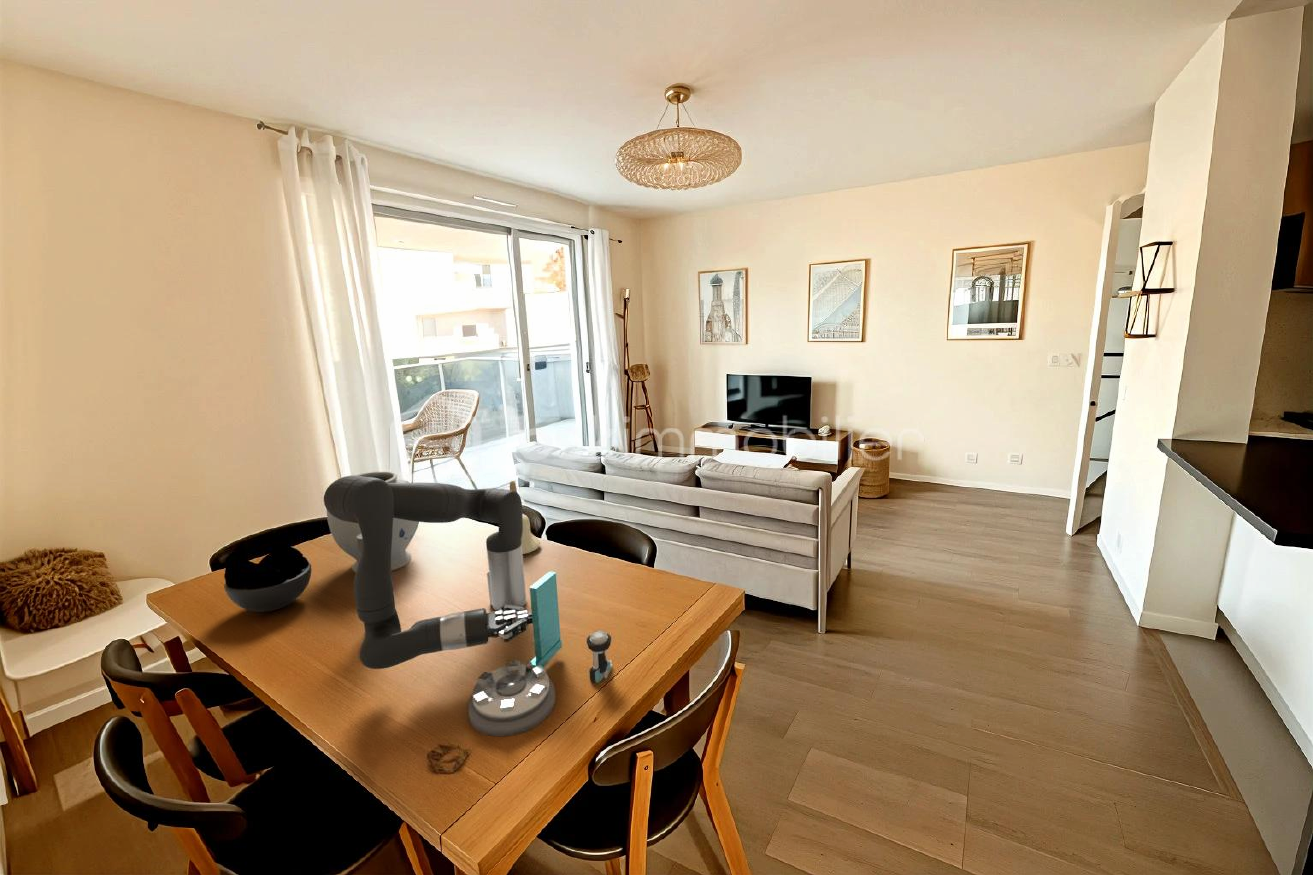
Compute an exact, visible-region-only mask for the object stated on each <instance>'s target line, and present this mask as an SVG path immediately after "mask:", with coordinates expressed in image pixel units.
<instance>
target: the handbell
mask: <svg viewBox="0 0 1313 875" xmlns="http://www.w3.org/2000/svg"><path fill="white" fill-rule="evenodd" d="M517 489H518V488H517V484H516V481H515V480H511V481H510V482H509V490H513V491H516V492H517V493H518V490H517ZM522 516H523V533H522V538H521V543H522V555H524V554H530V553H531V552H533V551H535V550H537V549H538V548H539V547H540V545H541V541H540V539H539V538H538V537H536V536H535V535H534V534H533V533H532V531H531V524H530V523H531V522H530V519H529V517H528V516H527V515H526V514H524V513H522Z"/></svg>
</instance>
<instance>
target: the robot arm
mask: <svg viewBox="0 0 1313 875" xmlns="http://www.w3.org/2000/svg"><path fill="white" fill-rule="evenodd" d="M356 475H357V474H356ZM356 475H354V474H353V475H347V476H343V477H340V478H338V479H336V480H334V481H333V482H332V483H330V484H329V485H328V487H327V488H326V490H325V492H324V493H323V494H324V495H323V504H324V505H323V506H325V508H326V511H327V510H328V512H329V513H330V514H331V515H333V516H334V517H336V518H338V519H340V520H343V521H347V522H353V523H358V524H359V527H360V531H361V534H362V540H363V551H362V556H361V559H360V562H359V565H358V568H357V571H356V573H355V574H354V578H353V592H354V600H355V608H356V613H357V616H358V619H359V620H360V621H361V622H362V623H363V625H364V639H363V641H362V643H361V646H360V648H359V653H358V656H359V660H360V661H359V662H360V663H361V664H362V665H363V666H364V667H366V668H368V669H372V670H382V669H383V670H384V669H388V668H391V667H395V666H398V665H400V664H402V663H405V662H407V661H411V660H412V659H415V658H416V657H419V656H422V655H426V654H427V655H428V654H433V653H437V652H438V653H439V652H442V651H455V650H460V649H466V648H470V647H476V646H477V647H478V646H481V645H487V644H488V642H489V638H495V639H497V638H499V637H501V638H502V639H503V642H505V643H508V642H510V641H511V640H513V639H514V638H516V637H518V636H520V635H521V634H523V633H524V632H526V631H527V627H529V625H530V624H531V625H533V622H532V610H531V611H528V610H526V609H525V608H524V606H525V605H526V603H527V593H526V592H527V591H526V590H527V589H526V579H525V569H524V554H522V543H521V538H522V533H523V516H522V514H523V502H522V498H521V496H520V494H519V492H518V491H517V492H516V491H513V490H510V489H504V488H496V487H495V488H494V487H490V488H479V489H478V488H477V489H476V488H475V489H466V488H463V487H461V486H458V485H455V484H449V483H439V482H410V483H387V482H385V481H384V480H382V479H378V478H373V477H364V476H356ZM393 518H398V519H404V520H409V521H416V522H419V523H428V524H430V523H431V524H445V523H452V522H456V521H459V520H461V519H472V520H478V521H483V522H487V523H493V524H498V531H496V532H494V533H491V534H489V535H488V537H487V538H486V540H485V541H486V542H485V543H486V554H487V561H488V562H487V565H488V571H487V574H486V577H487V586H488V597H489V605H491V606H492V609H493V611H491V612H488V613H487V610H486V608H484V607H483V608H477V609H472V610H465V611H460V612H454V613H450V614H446V615H443V616H437V617H431V618H427V619H426V618H425V619H422V620H418V621H416V622H415V623H414V624H412V626H411V627H410V628H409V629H406V630H403V631H402V627H401V621H400V618H399V615H398V611H397V608H396V599H395V591H394V582H393V576H392V574H393V573H392V571H391V550H392V531H393Z"/></svg>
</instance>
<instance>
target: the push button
mask: <svg viewBox="0 0 1313 875" xmlns="http://www.w3.org/2000/svg"><path fill="white" fill-rule="evenodd" d="M611 642H612V636H611V635H610V633H607V632H606V631H604V630H596V631H594V632H592V633H590V635H589V636H588V637H587V638H586V645H587V648H588V649H589V650H590V651H591V652H592V661H593V662H592V667H590V669H589V680H590V681H592V682H595V683H597V684H599V683H600V682H601V681H602V680H603V679H607V678H608V676H609V674H610V673H611V668H612V666H613V660H612V659H609V660H608V656H607V650H609V648H610V647H611Z"/></svg>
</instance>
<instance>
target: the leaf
mask: <svg viewBox="0 0 1313 875" xmlns="http://www.w3.org/2000/svg"><path fill="white" fill-rule="evenodd" d="M457 749H458V751H457V753H458V755H454V756H452V757H451V758H449V759H447V758H446V759H444V757H445V756H446V755H449V754H451V753H452V752H453V751H454V750H457ZM463 753H464V754H463ZM470 753H471V748H470V747H469V748H464V747H462V746H461V745H456V744H455V743H452V742H450V741H449V742H448V743H447V744H445V743H444V744H443V743H441V742H438V743H437V744H436V745H435V747H434V748H433V749H431V750H430V751H428V752H427V753H426V755H427V757H426V759H427V760H428V762H429V765H431V767H432V768H433V770H434V771H436V772H437V773H438V774H445V775H448V774H452V773H454V772H456V770H457V769H460V766H461V765H463V764H462V763H463V762H464V761H465V759H466V758H467V757H468V756H469V755H470ZM454 762H455V763H454ZM450 763H451V764H452V763H454V766H452V768H451V769H446V768H445V767H444V765H443V764H450Z"/></svg>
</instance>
